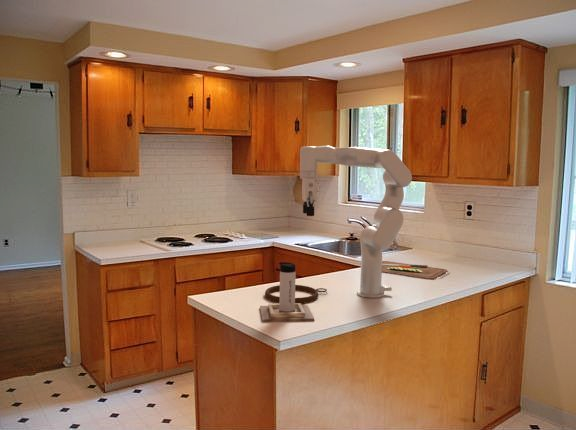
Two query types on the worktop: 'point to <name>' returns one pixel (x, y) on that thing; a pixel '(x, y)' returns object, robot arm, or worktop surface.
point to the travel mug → (287, 287)
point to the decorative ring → (297, 300)
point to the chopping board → (413, 270)
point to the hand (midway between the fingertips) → (308, 214)
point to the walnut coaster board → (285, 313)
